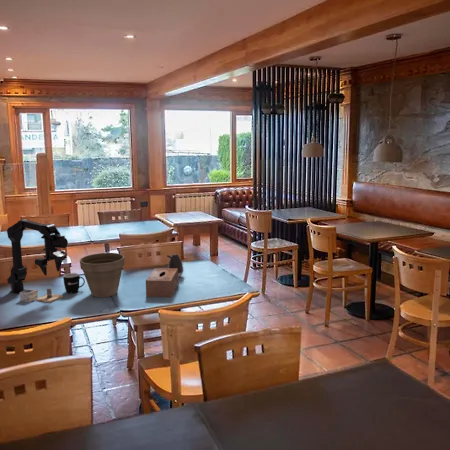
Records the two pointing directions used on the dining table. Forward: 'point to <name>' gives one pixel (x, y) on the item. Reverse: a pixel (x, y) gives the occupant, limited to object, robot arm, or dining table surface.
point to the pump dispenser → (176, 263)
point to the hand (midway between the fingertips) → (51, 273)
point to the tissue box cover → (162, 282)
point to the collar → (28, 295)
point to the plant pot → (103, 273)
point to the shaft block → (49, 297)
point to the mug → (72, 282)
